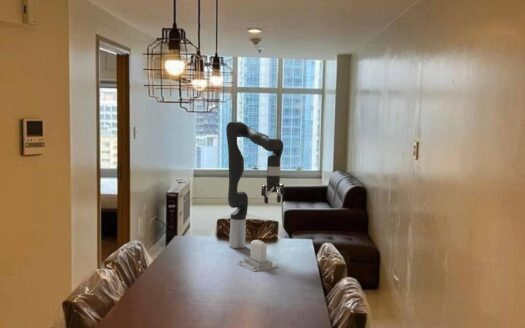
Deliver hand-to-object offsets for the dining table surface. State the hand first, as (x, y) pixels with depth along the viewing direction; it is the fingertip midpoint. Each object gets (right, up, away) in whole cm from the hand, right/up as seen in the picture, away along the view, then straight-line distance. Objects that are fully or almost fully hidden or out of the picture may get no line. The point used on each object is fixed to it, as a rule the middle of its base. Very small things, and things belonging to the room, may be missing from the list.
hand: (272, 203), depth 280 cm
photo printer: (-8, -31, -18) cm, 37 cm away
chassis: (-8, -32, -19) cm, 37 cm away
